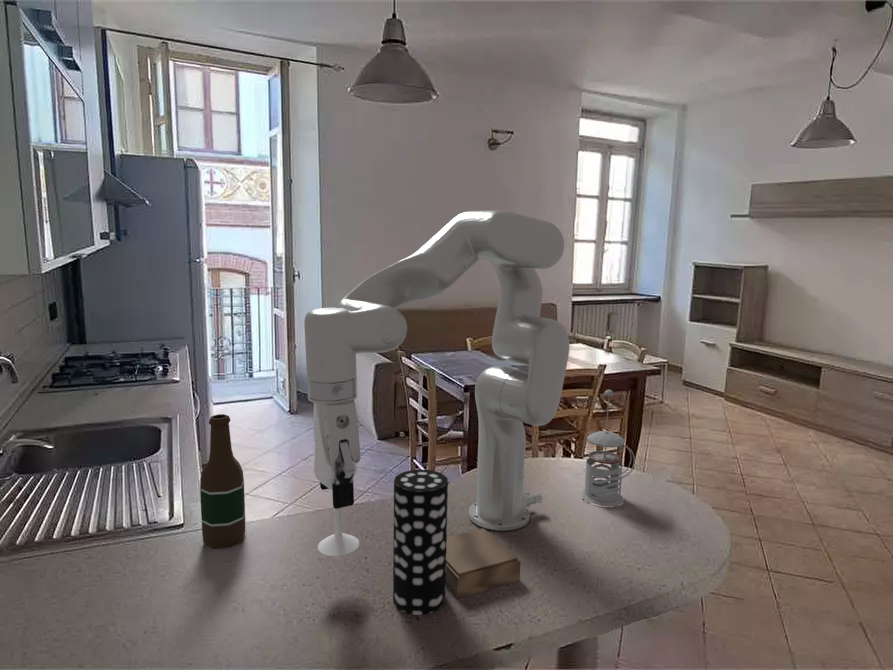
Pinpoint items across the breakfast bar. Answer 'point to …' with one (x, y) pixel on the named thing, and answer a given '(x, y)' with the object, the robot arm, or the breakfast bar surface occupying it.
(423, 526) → the spotted tube
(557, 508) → the breakfast bar surface
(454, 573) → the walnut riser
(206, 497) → the beer bottle
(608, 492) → the french press
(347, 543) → the champagne flute
